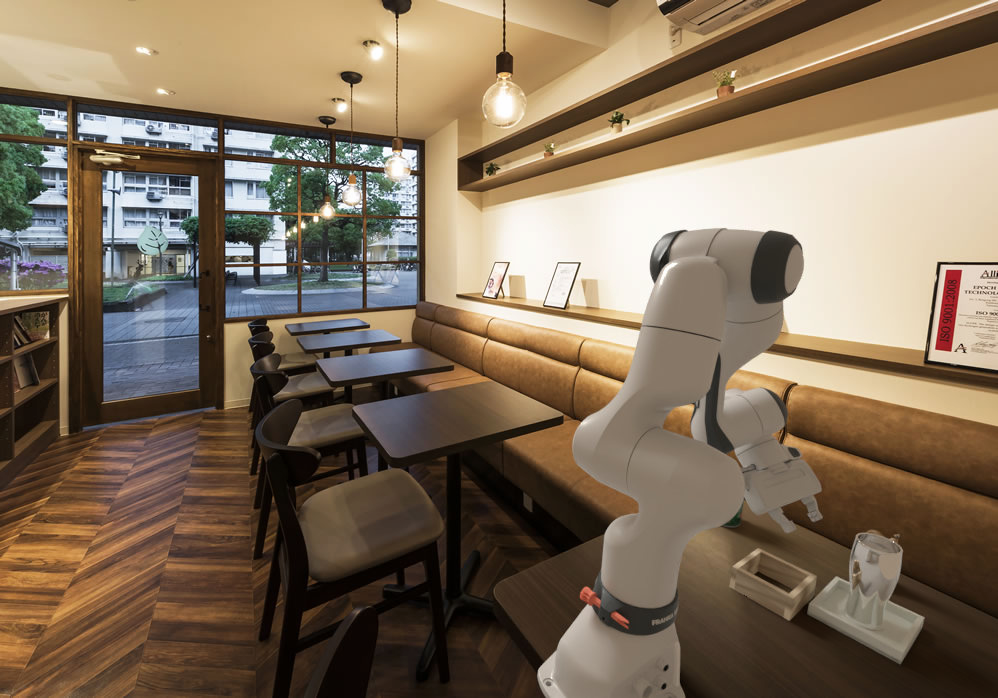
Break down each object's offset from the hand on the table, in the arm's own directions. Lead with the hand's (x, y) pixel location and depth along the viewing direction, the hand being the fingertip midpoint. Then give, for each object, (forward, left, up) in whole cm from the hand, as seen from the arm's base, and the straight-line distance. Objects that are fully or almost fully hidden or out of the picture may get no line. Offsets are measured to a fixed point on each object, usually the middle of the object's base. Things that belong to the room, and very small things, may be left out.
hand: (805, 525), depth 94 cm
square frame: (-8, +2, -12) cm, 15 cm away
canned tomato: (+11, +21, -13) cm, 27 cm away
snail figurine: (+14, -9, -13) cm, 21 cm away
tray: (-2, -12, -12) cm, 17 cm away
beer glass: (-2, -12, -12) cm, 17 cm away
